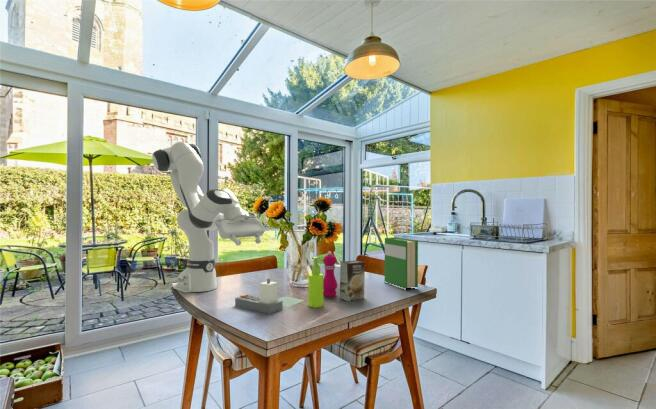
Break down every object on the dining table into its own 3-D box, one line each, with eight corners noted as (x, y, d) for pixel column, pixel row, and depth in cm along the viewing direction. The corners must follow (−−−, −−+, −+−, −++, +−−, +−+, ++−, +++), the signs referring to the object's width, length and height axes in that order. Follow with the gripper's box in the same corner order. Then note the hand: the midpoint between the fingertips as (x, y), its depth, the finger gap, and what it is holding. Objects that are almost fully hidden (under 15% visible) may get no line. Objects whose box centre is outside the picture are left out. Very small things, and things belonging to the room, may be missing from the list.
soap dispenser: (328, 307, 128) (328, 256, 129) (315, 310, 123) (315, 258, 124) (317, 303, 132) (318, 255, 133) (305, 307, 128) (305, 257, 128)
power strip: (235, 308, 126) (235, 296, 126) (248, 303, 132) (248, 292, 132) (270, 316, 116) (270, 303, 116) (282, 311, 122) (282, 299, 122)
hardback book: (417, 289, 158) (417, 240, 158) (405, 290, 155) (405, 240, 155) (396, 281, 174) (396, 237, 174) (384, 283, 171) (384, 237, 171)
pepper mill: (335, 297, 142) (336, 252, 142) (319, 296, 143) (320, 251, 143) (338, 293, 149) (338, 250, 149) (323, 292, 150) (323, 249, 150)
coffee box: (348, 301, 136) (348, 263, 136) (339, 298, 141) (339, 261, 141) (364, 298, 141) (365, 261, 141) (355, 295, 146) (356, 259, 146)
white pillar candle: (259, 310, 121) (260, 279, 121) (267, 306, 125) (268, 277, 125) (268, 312, 118) (269, 280, 118) (276, 308, 122) (277, 278, 122)
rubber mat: (267, 305, 130) (267, 302, 130) (284, 298, 140) (284, 296, 140) (288, 309, 125) (288, 307, 125) (305, 302, 134) (305, 300, 134)
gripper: (216, 214, 130) (229, 240, 123) (259, 213, 145) (272, 236, 138) (211, 225, 133) (223, 251, 126) (253, 223, 148) (266, 246, 141)
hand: (249, 243), depth 132 cm, fingers open, 8 cm apart
